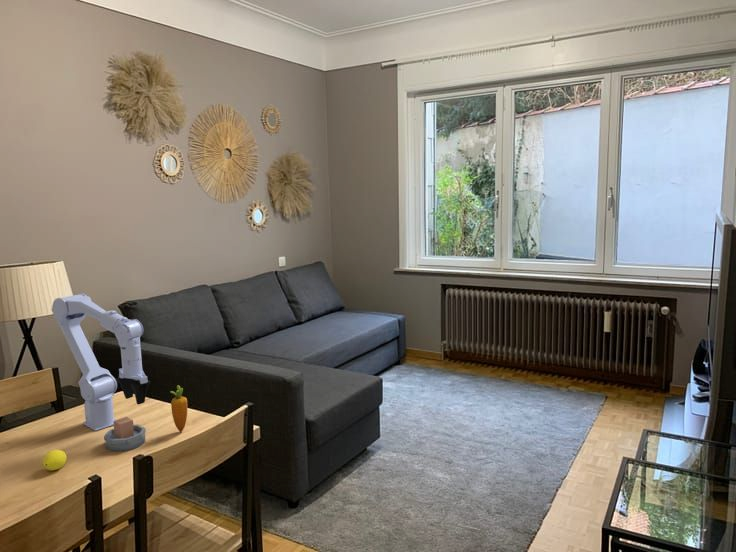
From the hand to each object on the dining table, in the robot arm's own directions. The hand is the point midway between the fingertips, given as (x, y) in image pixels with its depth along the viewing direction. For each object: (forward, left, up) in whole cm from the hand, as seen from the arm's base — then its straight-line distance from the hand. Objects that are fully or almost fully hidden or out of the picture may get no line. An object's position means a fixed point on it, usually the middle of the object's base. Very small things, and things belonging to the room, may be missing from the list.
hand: (134, 400), depth 173 cm
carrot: (+11, +9, -11) cm, 18 cm away
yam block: (+5, -7, -8) cm, 12 cm away
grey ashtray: (+5, -6, -10) cm, 13 cm away
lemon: (+5, -26, -11) cm, 29 cm away
